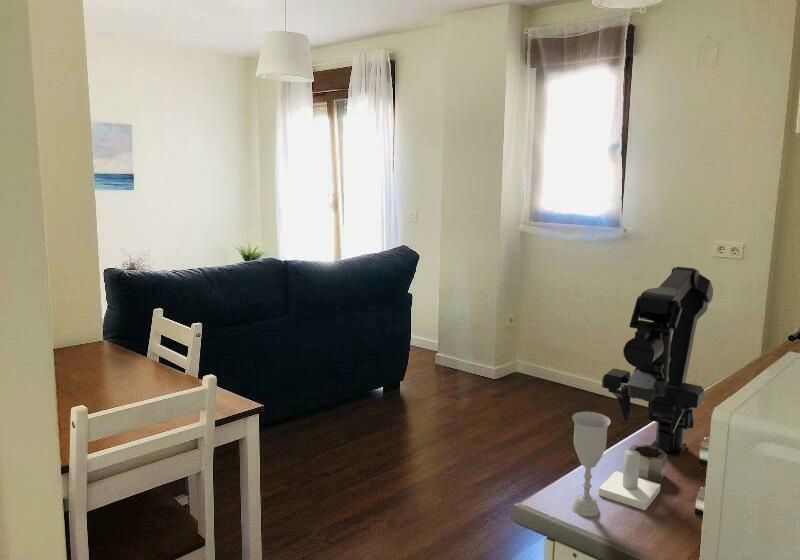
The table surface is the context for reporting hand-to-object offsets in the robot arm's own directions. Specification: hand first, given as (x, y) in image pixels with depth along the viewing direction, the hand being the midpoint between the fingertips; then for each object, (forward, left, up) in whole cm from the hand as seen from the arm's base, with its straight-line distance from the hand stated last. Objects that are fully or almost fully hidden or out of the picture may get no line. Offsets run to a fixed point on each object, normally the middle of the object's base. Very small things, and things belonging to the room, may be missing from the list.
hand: (648, 426), depth 133 cm
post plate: (+9, 0, -11) cm, 14 cm away
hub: (-1, 0, -11) cm, 11 cm away
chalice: (+20, -5, -11) cm, 24 cm away
